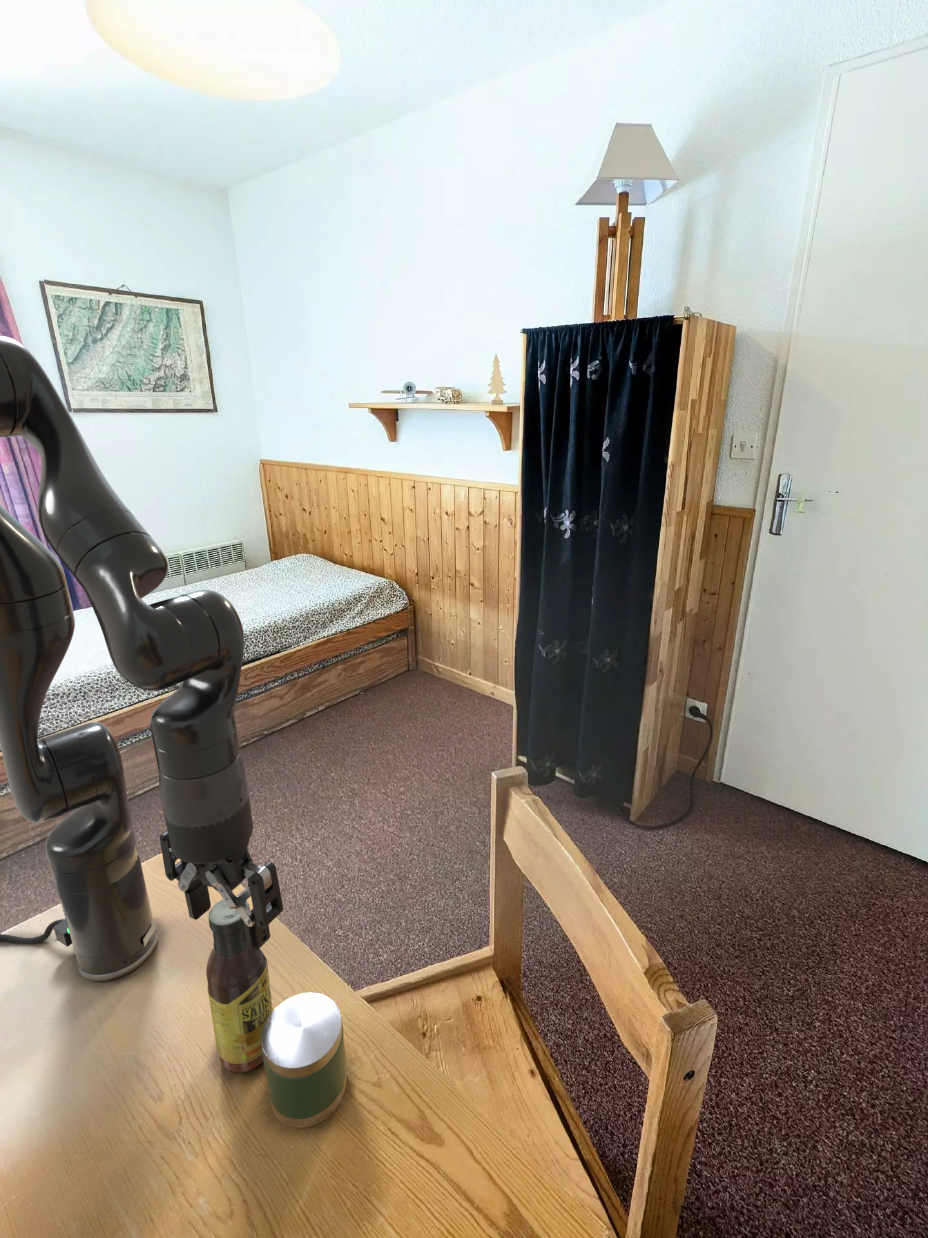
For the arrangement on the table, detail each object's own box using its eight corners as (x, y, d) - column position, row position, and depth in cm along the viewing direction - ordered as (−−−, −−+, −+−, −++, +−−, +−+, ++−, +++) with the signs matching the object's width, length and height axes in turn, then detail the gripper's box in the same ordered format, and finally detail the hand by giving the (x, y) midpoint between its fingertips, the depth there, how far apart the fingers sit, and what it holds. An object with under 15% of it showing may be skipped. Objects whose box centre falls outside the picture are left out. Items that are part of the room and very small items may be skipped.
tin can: (253, 1103, 64) (242, 1044, 61) (306, 1035, 71) (299, 979, 68) (312, 1145, 60) (305, 1085, 57) (362, 1070, 67) (358, 1012, 64)
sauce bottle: (259, 1082, 66) (236, 945, 59) (207, 1070, 67) (179, 934, 60) (287, 1025, 72) (270, 894, 65) (239, 1014, 73) (217, 885, 66)
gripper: (291, 799, 58) (305, 929, 63) (189, 759, 64) (210, 881, 70) (228, 847, 51) (250, 987, 57) (122, 798, 58) (152, 928, 63)
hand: (228, 928), depth 63 cm, fingers open, 8 cm apart
